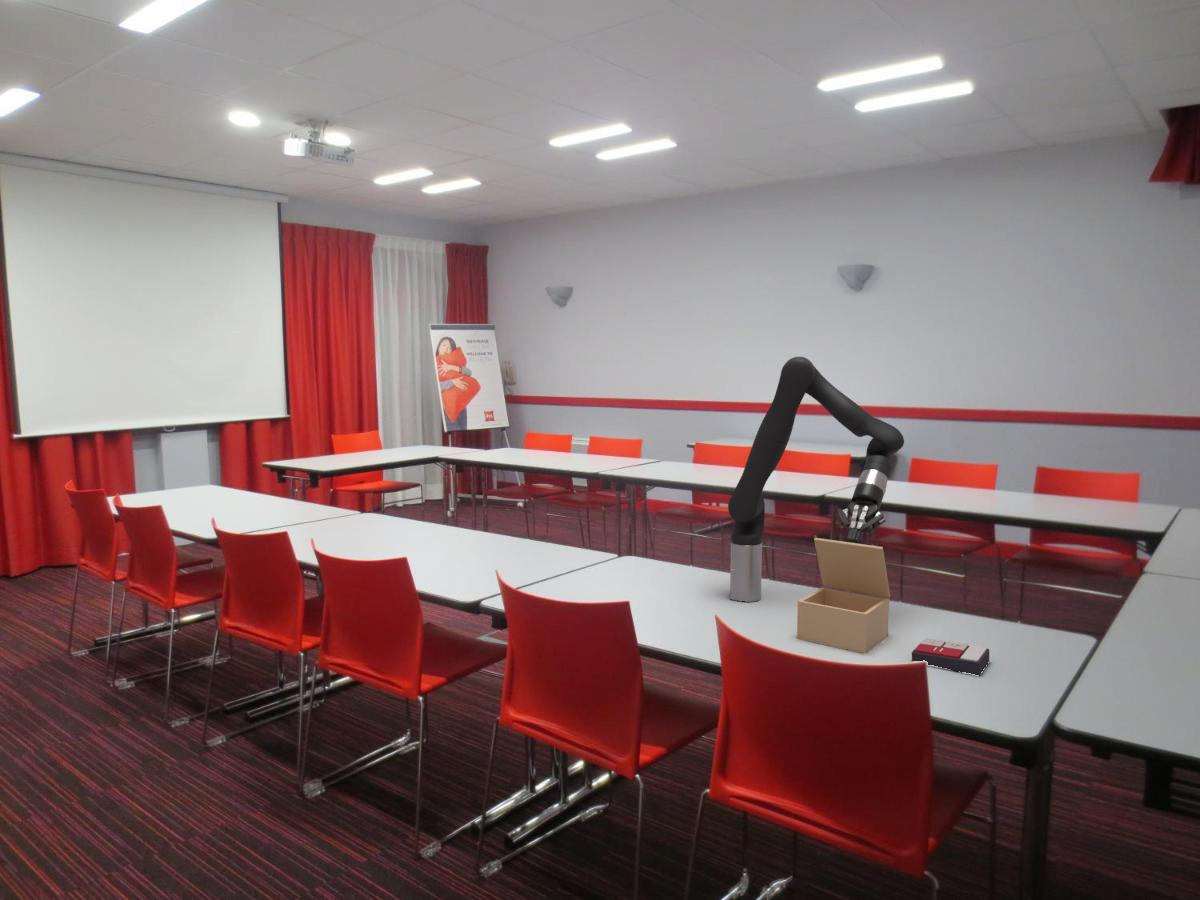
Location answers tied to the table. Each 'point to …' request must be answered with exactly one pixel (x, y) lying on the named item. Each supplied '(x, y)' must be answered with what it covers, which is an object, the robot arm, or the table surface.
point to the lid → (852, 567)
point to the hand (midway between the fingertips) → (852, 542)
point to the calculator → (952, 655)
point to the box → (843, 619)
